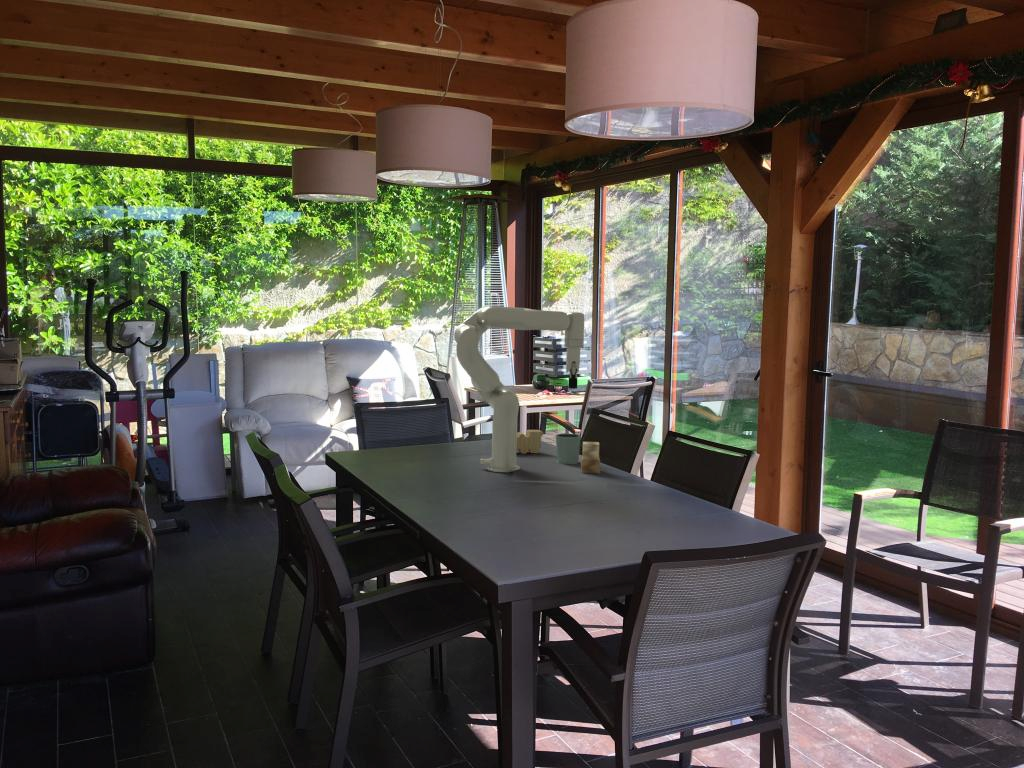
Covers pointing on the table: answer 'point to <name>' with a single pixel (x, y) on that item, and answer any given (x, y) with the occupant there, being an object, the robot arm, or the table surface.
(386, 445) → the table surface
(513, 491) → the table surface
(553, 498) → the table surface
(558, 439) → the green cup
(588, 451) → the birch cube
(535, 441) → the toy train
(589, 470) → the walnut base block
